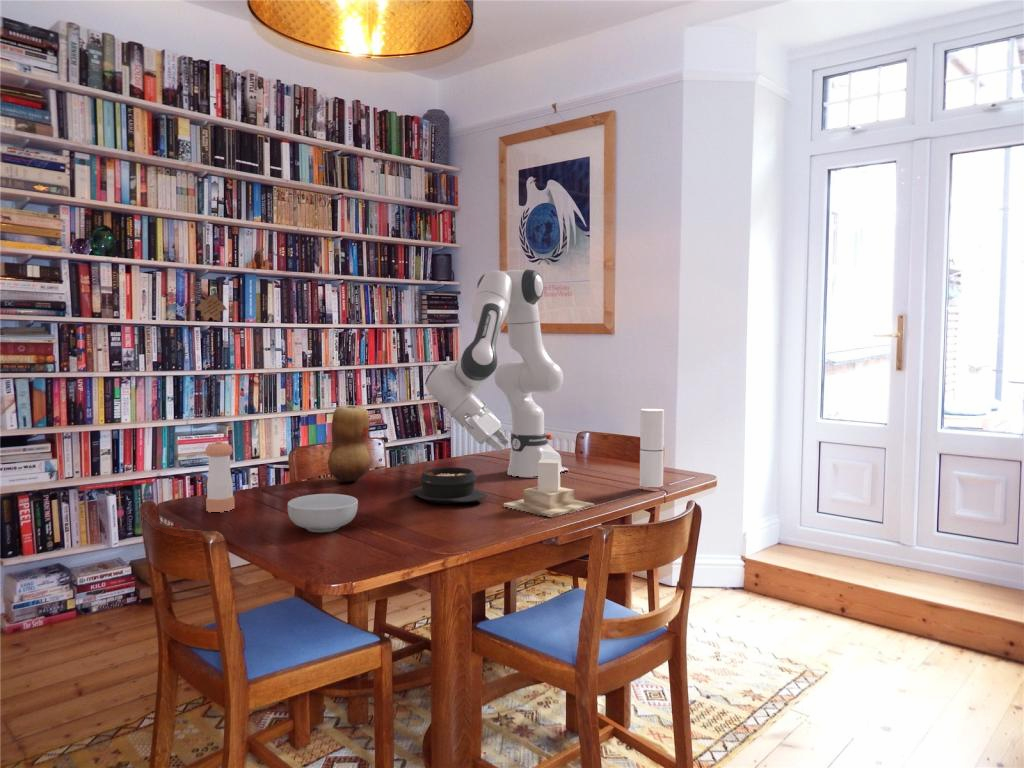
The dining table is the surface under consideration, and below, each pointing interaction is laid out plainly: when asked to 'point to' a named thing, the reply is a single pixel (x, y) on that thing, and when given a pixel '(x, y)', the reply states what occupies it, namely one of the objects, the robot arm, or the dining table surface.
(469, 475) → the casserole
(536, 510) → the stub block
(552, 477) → the upright ivory block
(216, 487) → the salt shaker
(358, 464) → the butternut squash
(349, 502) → the cereal bowl
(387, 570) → the dining table surface
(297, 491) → the dining table surface
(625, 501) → the dining table surface
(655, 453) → the cylindrical container
